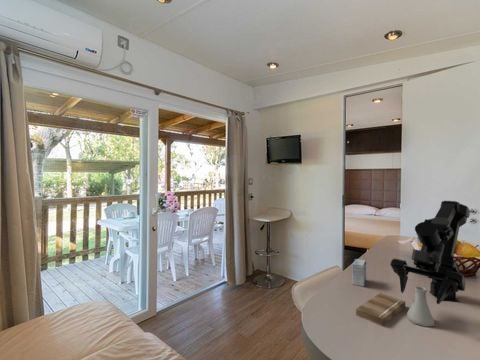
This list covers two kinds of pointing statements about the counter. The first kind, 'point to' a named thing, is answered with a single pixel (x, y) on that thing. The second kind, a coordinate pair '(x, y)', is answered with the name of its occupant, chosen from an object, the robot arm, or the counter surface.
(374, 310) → the walnut board
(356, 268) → the medicine box
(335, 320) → the counter surface
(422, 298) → the flask
